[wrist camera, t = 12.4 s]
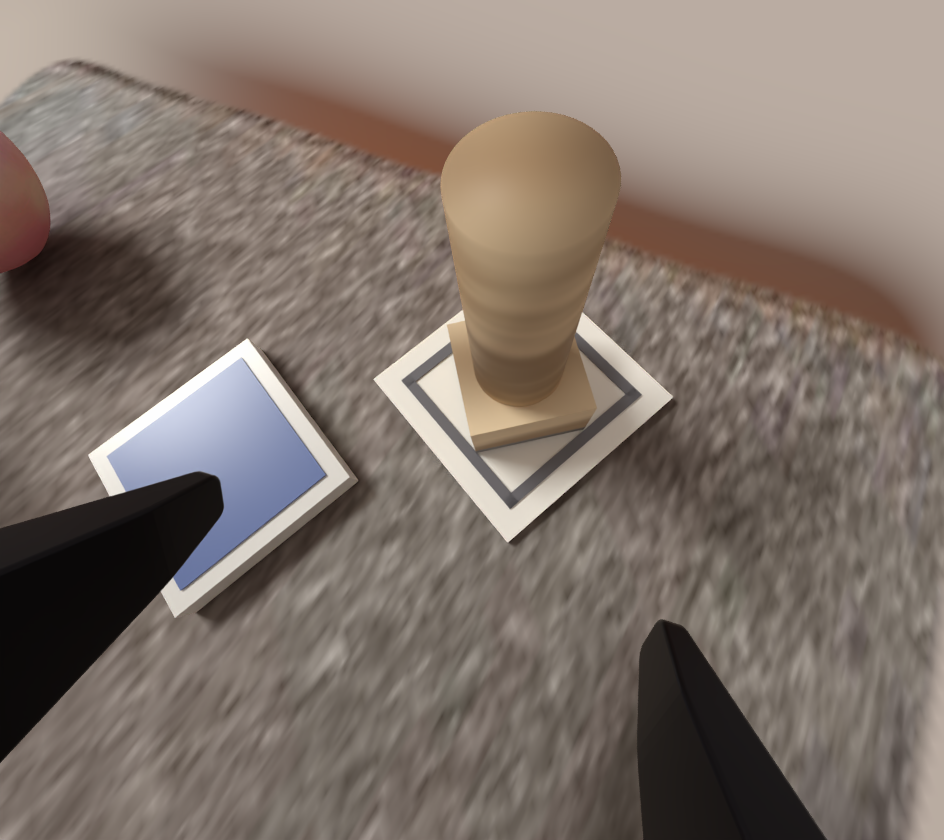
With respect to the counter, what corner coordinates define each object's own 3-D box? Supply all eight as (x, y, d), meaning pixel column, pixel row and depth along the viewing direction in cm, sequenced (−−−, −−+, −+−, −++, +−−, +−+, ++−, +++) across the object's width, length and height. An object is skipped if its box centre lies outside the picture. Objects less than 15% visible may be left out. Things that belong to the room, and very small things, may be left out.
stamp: (583, 429, 19) (696, 250, 8) (476, 452, 19) (429, 311, 8) (555, 333, 21) (613, 64, 9) (455, 355, 21) (390, 117, 9)
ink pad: (358, 480, 20) (348, 476, 18) (195, 613, 19) (173, 618, 17) (260, 349, 22) (246, 337, 21) (110, 459, 21) (85, 454, 20)
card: (670, 399, 20) (674, 396, 19) (507, 542, 18) (507, 542, 18) (526, 263, 22) (526, 259, 22) (375, 381, 21) (372, 378, 21)
